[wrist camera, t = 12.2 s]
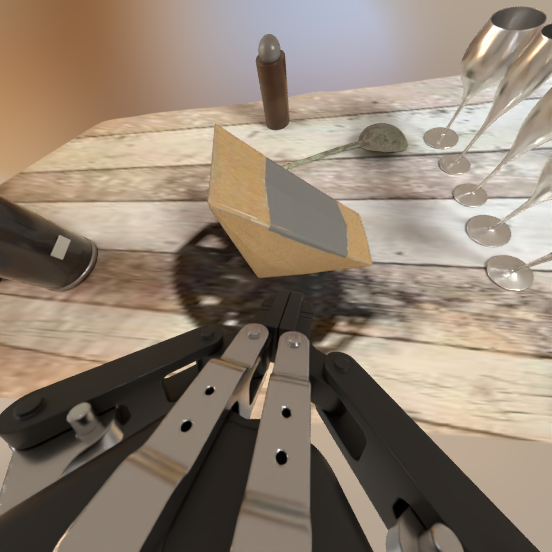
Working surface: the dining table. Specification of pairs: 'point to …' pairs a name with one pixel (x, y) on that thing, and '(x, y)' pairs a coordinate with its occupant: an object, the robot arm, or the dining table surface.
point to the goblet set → (512, 90)
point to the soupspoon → (367, 142)
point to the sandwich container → (280, 215)
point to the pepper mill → (273, 82)
